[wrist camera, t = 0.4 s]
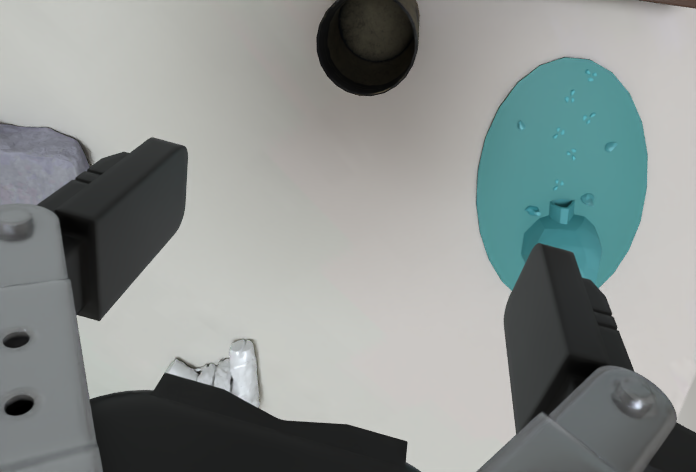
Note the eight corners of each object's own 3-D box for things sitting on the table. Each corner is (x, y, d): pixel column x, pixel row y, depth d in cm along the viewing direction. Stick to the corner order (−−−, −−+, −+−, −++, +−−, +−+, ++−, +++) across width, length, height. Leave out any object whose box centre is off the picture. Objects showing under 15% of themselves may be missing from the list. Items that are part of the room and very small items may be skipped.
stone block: (101, 127, 44) (-36, 112, 42) (81, 150, 40) (-71, 135, 38) (110, 252, 50) (-10, 243, 48) (94, 283, 46) (-37, 274, 44)
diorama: (662, 45, 36) (730, 71, 28) (632, 301, 44) (678, 373, 37) (471, 68, 37) (487, 98, 30) (479, 309, 46) (493, 380, 39)
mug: (422, 60, 37) (427, 103, 27) (343, 70, 38) (317, 115, 28) (413, -71, 34) (415, -82, 23) (326, -58, 35) (289, -62, 24)
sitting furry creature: (251, 332, 50) (209, 436, 39) (293, 400, 53) (264, 512, 43) (166, 359, 52) (104, 463, 42) (211, 422, 56) (164, 533, 45)
